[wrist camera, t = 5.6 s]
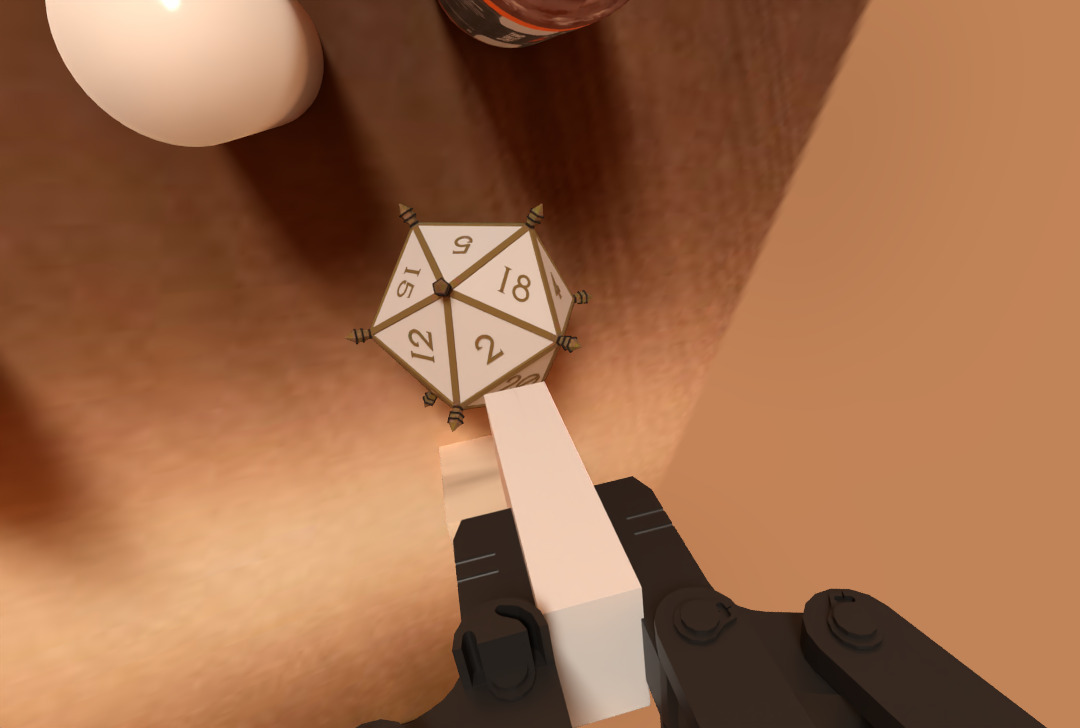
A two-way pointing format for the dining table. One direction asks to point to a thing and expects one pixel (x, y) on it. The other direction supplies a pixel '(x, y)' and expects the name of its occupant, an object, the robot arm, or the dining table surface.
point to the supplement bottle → (525, 18)
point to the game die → (473, 310)
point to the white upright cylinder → (192, 64)
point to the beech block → (470, 481)
